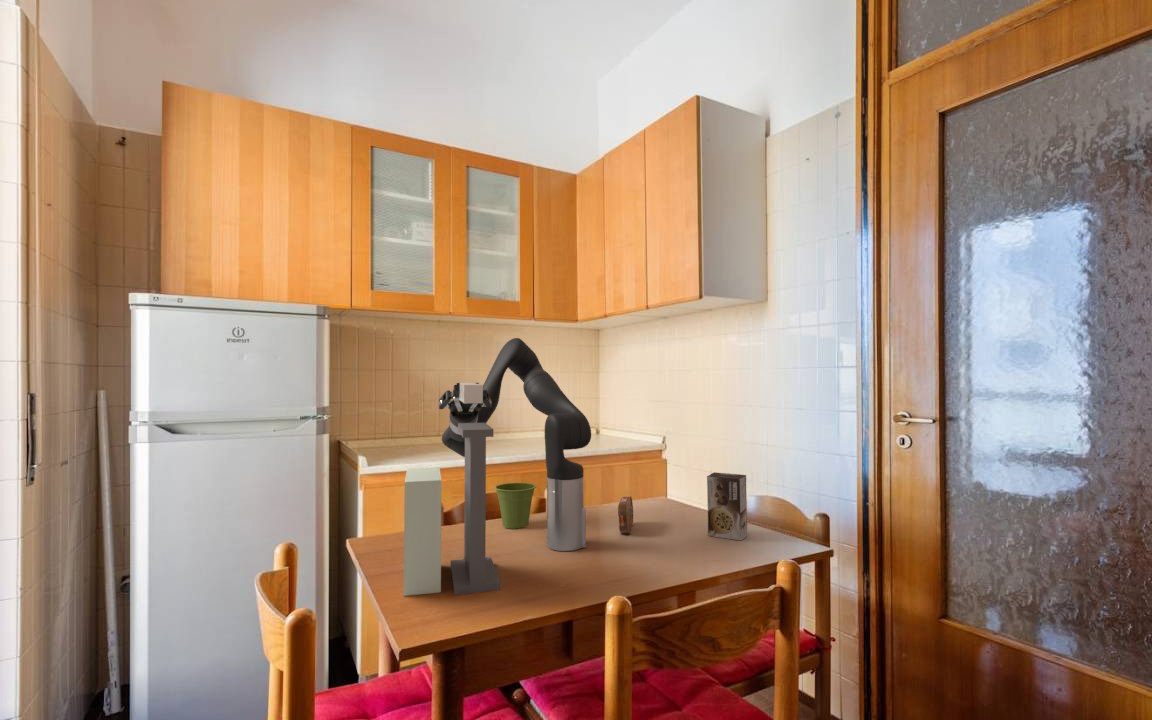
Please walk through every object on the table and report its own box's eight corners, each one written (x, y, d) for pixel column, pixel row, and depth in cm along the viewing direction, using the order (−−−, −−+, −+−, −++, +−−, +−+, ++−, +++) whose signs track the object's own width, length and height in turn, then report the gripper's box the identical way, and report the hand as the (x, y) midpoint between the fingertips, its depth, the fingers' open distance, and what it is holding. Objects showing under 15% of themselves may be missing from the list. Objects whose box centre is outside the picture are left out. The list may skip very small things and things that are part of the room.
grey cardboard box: (748, 535, 147) (747, 474, 147) (741, 541, 141) (740, 478, 142) (714, 530, 152) (714, 471, 152) (706, 535, 146) (706, 475, 147)
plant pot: (536, 520, 162) (536, 481, 163) (535, 531, 151) (535, 490, 151) (496, 520, 162) (496, 482, 162) (492, 532, 150) (492, 490, 150)
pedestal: (438, 565, 124) (439, 467, 124) (440, 592, 108) (441, 480, 109) (406, 568, 122) (407, 468, 122) (403, 596, 106) (404, 482, 107)
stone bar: (473, 398, 141) (473, 383, 141) (482, 403, 120) (482, 384, 120) (457, 398, 140) (457, 383, 140) (464, 403, 119) (464, 385, 119)
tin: (628, 537, 145) (628, 505, 145) (616, 536, 146) (616, 505, 146) (634, 522, 160) (634, 493, 160) (623, 522, 160) (623, 493, 161)
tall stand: (491, 563, 125) (491, 422, 126) (500, 589, 109) (500, 429, 110) (450, 567, 122) (451, 423, 123) (454, 594, 107) (455, 430, 108)
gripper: (436, 404, 148) (438, 372, 134) (489, 403, 152) (496, 372, 138) (436, 429, 144) (438, 400, 130) (490, 428, 148) (498, 399, 134)
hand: (468, 386), depth 134 cm, fingers closed on stone bar, 4 cm apart
